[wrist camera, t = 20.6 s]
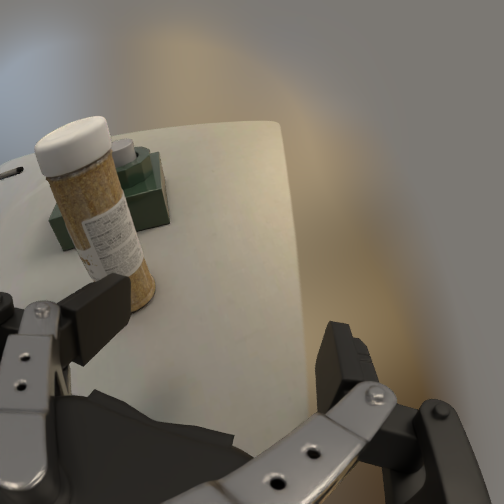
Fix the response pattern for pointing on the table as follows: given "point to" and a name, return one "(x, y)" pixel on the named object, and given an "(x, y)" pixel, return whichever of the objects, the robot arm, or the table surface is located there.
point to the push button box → (132, 195)
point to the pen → (11, 172)
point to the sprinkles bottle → (94, 203)
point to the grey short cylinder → (123, 152)
